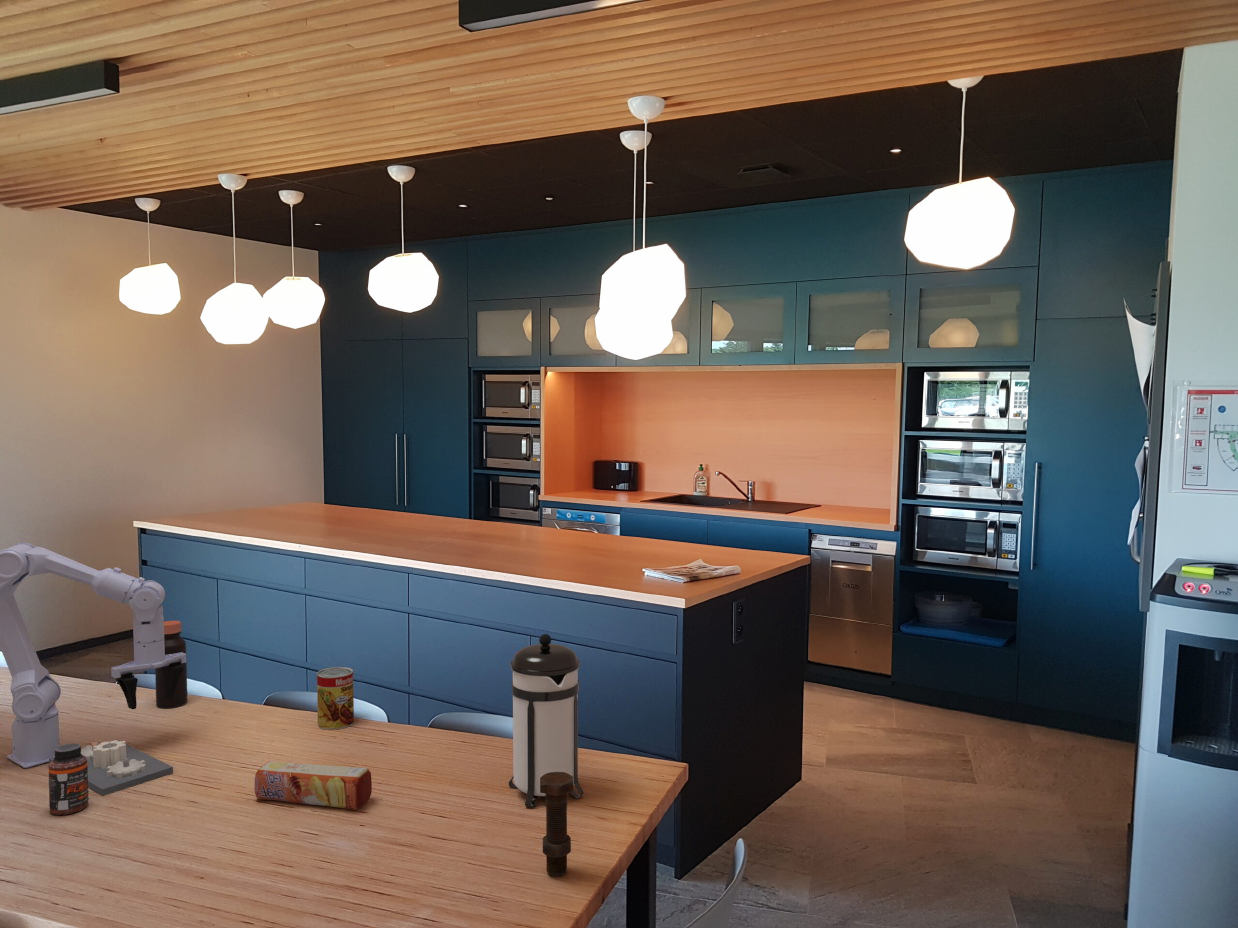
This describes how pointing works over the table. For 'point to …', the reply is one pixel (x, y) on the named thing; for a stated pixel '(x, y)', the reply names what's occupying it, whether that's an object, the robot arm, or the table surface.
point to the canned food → (335, 698)
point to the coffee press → (544, 716)
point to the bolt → (556, 821)
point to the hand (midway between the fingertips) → (151, 703)
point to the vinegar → (177, 646)
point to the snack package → (314, 784)
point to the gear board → (123, 770)
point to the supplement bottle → (68, 780)
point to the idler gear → (109, 753)
